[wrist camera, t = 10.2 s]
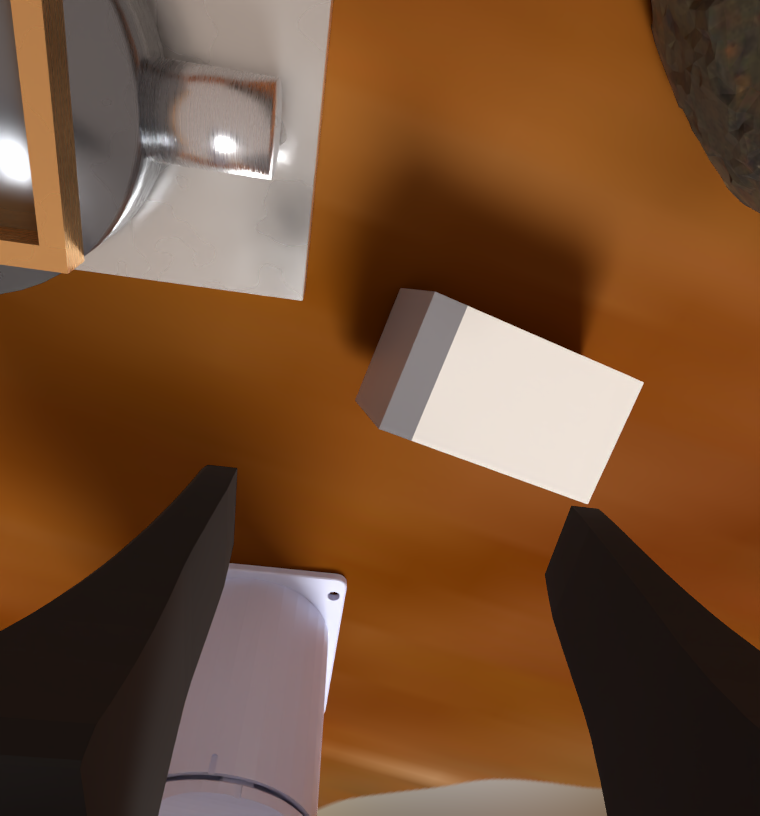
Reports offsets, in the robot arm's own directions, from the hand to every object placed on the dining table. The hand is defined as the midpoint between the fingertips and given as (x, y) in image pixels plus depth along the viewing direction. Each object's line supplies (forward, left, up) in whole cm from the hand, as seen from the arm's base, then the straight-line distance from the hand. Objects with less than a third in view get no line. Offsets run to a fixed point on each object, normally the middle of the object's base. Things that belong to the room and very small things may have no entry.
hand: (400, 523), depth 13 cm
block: (-1, -7, -7) cm, 10 cm away
